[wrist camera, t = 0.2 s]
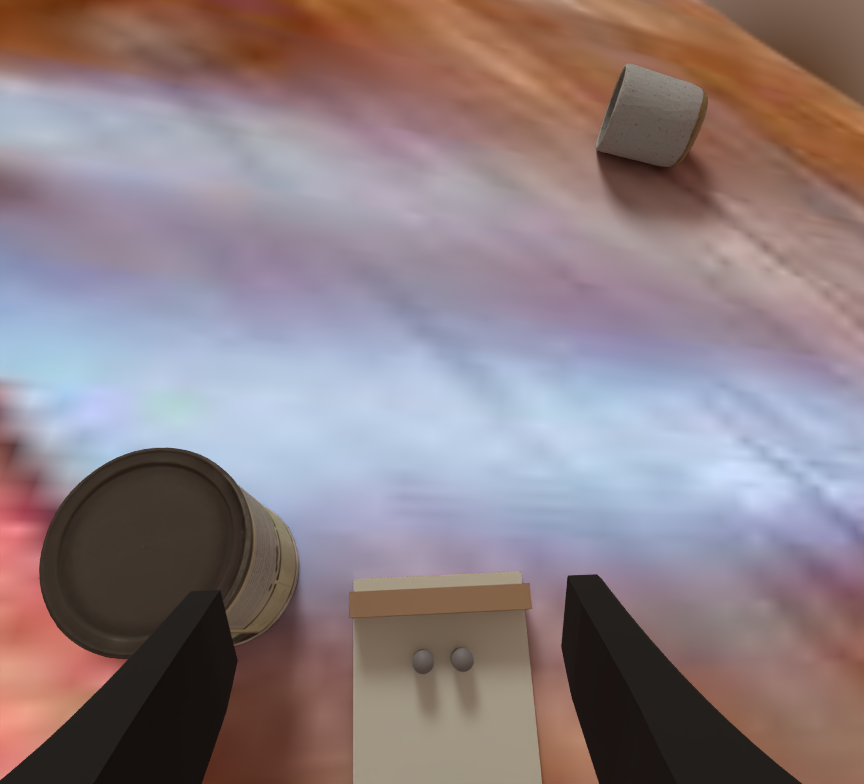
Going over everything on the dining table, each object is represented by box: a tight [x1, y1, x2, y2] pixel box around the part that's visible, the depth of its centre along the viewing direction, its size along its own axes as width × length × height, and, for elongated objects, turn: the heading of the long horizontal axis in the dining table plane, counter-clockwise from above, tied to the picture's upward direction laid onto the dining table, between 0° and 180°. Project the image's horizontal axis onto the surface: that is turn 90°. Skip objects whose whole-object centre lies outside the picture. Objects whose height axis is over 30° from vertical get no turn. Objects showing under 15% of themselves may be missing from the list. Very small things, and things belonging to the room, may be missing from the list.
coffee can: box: [39, 448, 299, 659], centre depth 36 cm, size 10×10×14 cm
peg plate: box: [349, 571, 542, 784], centre depth 37 cm, size 20×12×3 cm, turn 3°
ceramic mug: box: [596, 63, 708, 167], centre depth 55 cm, size 11×8×8 cm
